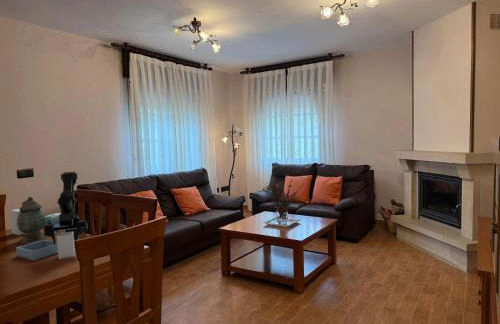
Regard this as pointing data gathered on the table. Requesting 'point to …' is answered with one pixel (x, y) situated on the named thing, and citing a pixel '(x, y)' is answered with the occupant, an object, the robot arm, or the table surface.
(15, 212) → the supplement box
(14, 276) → the table surface
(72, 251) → the white upright carton
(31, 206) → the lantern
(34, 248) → the tray
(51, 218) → the light bulb box
